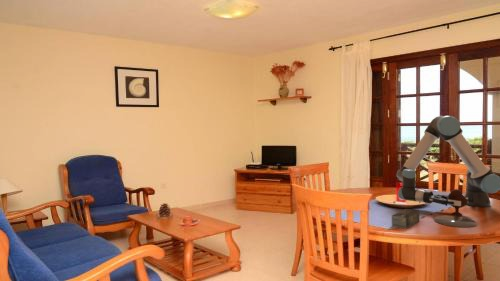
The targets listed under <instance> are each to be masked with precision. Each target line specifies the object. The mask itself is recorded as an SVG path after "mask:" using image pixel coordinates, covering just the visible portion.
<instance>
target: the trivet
mask: <svg viewBox="0 0 500 281" xmlns="http://www.w3.org/2000/svg"><path fill="white" fill-rule="evenodd" d="M433 221H434V222H435V223H437V224H440V225H444V226H448V227H454V228H474V227H477V225H478V223H477V221H475V220H473V219H471V218H467V217H462V216H454V215H438V216H437V215H436V216H434V217H433Z"/></svg>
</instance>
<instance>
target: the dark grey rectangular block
mask: <svg viewBox="0 0 500 281" xmlns="http://www.w3.org/2000/svg"><path fill="white" fill-rule="evenodd" d="M419 222H420V210H419V209H413V208H411V209H410V208H404V209H402V210H399V211H398V212H397V213H394V214H392V215H391V226H392V227H396V228H401V229H406V230H407V229H408V228H410V227H411V226H413V225H415V224H417V223H419Z"/></svg>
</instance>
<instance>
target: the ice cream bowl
mask: <svg viewBox="0 0 500 281" xmlns="http://www.w3.org/2000/svg"><path fill="white" fill-rule="evenodd" d="M448 195H449V196H448V197H447V200H455V201H461V206H455V205H450V206H451V207H453V208H454V209H455V210H454V212H451V216H456V217H462V216H463V214H462V213H461V212H459V210H460V209H461V208H463V207H466V206H467V205H466V204H467V203H468V199H466V198H465V197H464V196H465V195H463V192H462V190H460V189H457V188H455V189H451V191H450V192H449V193H448Z"/></svg>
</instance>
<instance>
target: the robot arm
mask: <svg viewBox="0 0 500 281" xmlns="http://www.w3.org/2000/svg"><path fill="white" fill-rule="evenodd" d="M463 131H464V130H463V129H462V128H461V123H460V121H459V119H457V117H454V116H452V115H438V116H436V117H434V118H433V119H432V120H431V121H430V122H429V124H428V125H427V127H426V128H425V130H424V134H423V136H422V138H421V139H420V140H419V142H417V145H416V146H415V148H414V149H413V151H411V154H410V155H409V156H408V158H407V160H406V161H405V162H404V164H403V166H402V167H401V168H400V169H398V170H397V171H396V177H397V179H398V180H399V181H400V182H402V187H399V189H398V192H397V196H398V198H399V199H400V200H404V201H409V202H410V201H411V202H418V204H420V203H425V204H432V203H436V204H438V205H439V204H440V205H444V206H445V207H446V206H448V205H449V206H451V205H455V206H461V201H455V200H447V197H448V196H449V194H439V193H436V194H434V193H433V191H431V190H424V189H417V188H416V181H417V180H416V176H417V174H416V169H417V167H418V166H419V165H420V163H421V162H422V161H423V159H424V158H425V156H426V155H427V154H428V152H429V151H430V149H431V148H432V146H433V145H434V143H435V142H436V141H439V139H440V137H441V138H442V140H443V141H444V142H448V143H449V145H450V146H451V148H453V151H454V152H455V153H456V155H458V157H459V159H460V160H461V161H462V162H463V164H464V165H465V166H466V168H467V171H466V191H465V194H464V195H463V196H464V197H465V198H466V199H468V203H467V204H466V205H465V206H472V207H483V208H484V207H485V208H486V207H490V206H491V203H492V202H491V200H490V197H489V194H495V193H498V192H499V191H500V176H499V175H498V174H495V173H494V170H492V168H491V167H490V166H486V165H485V164H484V162H483V161H482V159H480V157H479V156H478V154H477V153H476V151H475V150H474V149H473V147H472V146H471V145H470V143H469V142H468V141H467V139H466V137H465V136H464V135H463Z"/></svg>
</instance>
